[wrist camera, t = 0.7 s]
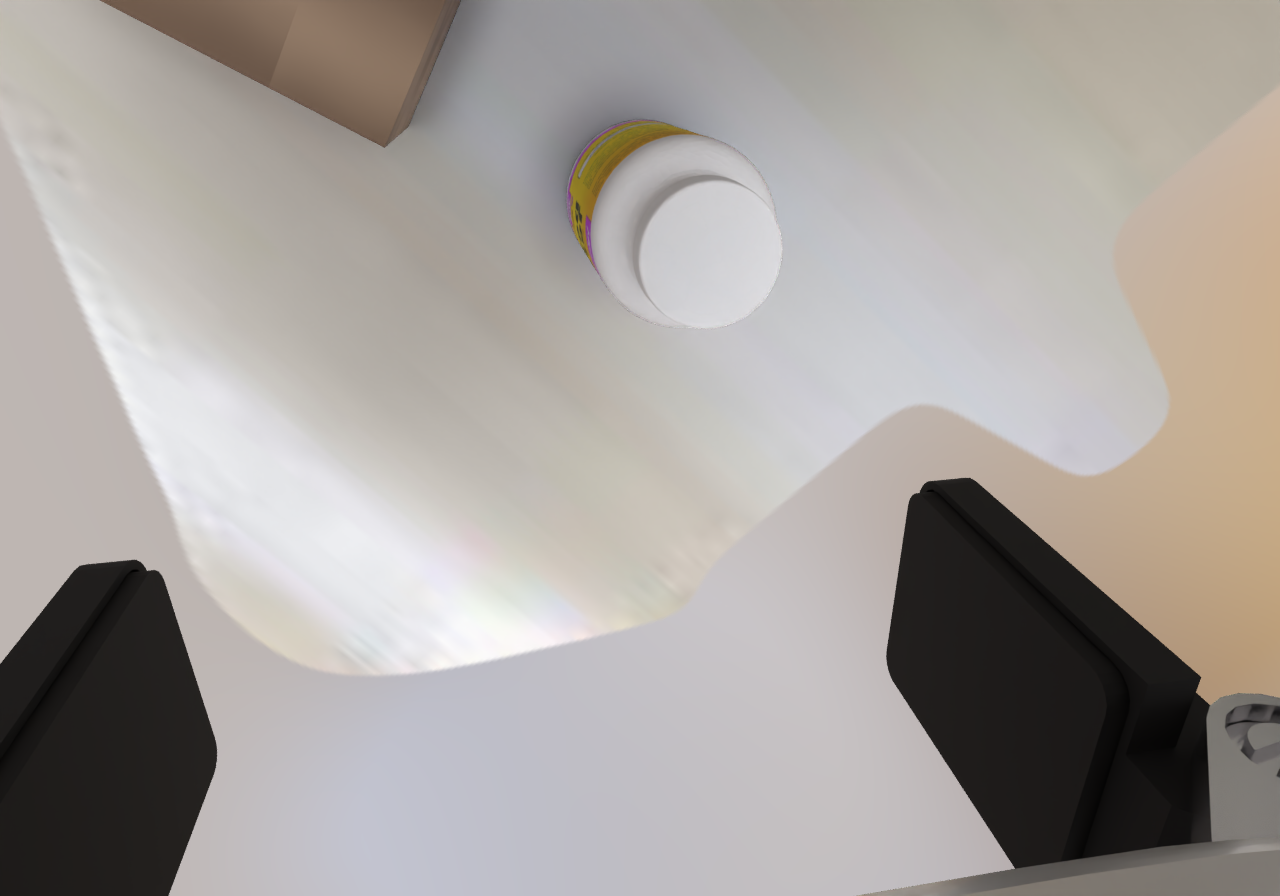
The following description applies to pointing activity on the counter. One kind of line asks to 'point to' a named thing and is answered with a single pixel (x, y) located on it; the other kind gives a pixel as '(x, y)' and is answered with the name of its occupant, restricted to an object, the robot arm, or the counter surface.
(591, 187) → the supplement bottle
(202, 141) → the counter surface
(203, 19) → the walnut block
